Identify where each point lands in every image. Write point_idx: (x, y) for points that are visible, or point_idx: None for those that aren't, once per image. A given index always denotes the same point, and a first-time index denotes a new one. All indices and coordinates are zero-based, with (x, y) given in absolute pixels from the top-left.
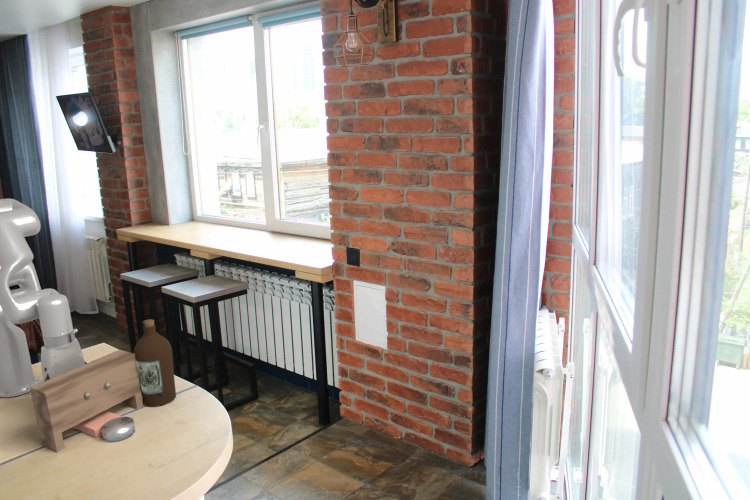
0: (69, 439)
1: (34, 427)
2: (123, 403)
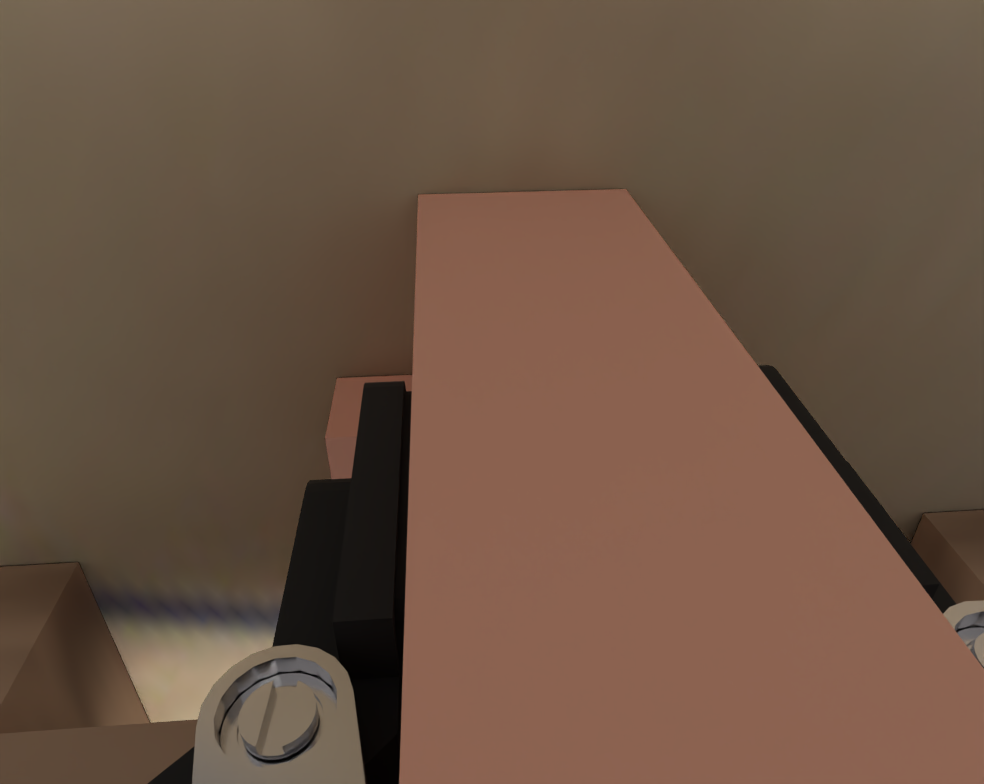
0: (237, 656)
1: (2, 96)
2: (921, 541)
